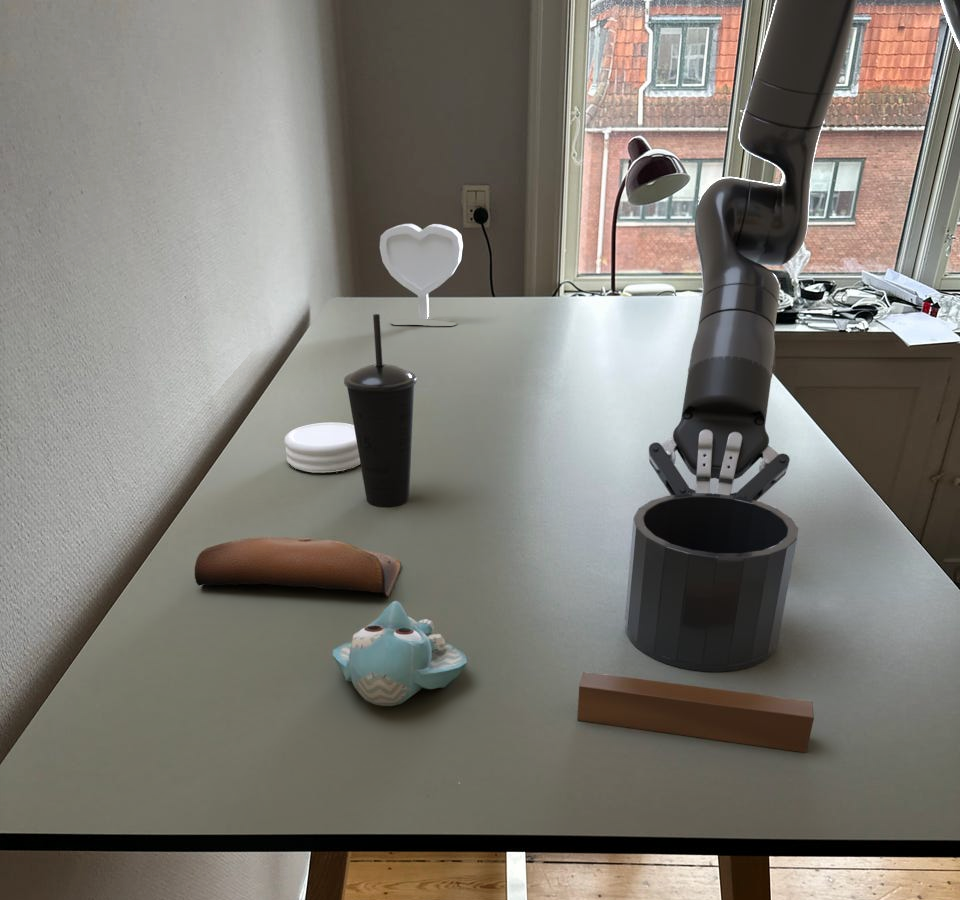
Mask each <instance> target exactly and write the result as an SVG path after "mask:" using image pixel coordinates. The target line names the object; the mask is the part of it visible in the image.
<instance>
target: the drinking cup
mask: <svg viewBox="0 0 960 900" xmlns="http://www.w3.org/2000/svg"><path fill="white" fill-rule="evenodd" d="M372 320H373V336H374V350H375V351H374V352H375V364H370V365H366V366H363V367H361V368H358V369H357V370H354V371H353V372H350V373H348V374H347V375H345V376H344V378H343V384H344V387H346V388H347V394H348V399H349V405H350V411H351V416H352V422H353V425H354V429H355V435H356V441H357V446H358V452H359V458H360V464H361V465H360V469H361V475H362V480H363V486H364V492H365V498H366V501H367V503H369V504H370V505H372V506H375V507H386V508H389V507H396V506H401V505H403V504H405V503H407V502H408V501H409V499H410V490H411V488H410V487H411V466H412V465H411V464H412V441H413V422H414V421H413V420H414V419H413V417H414V397H415V396H414V394H415V385H416V384H417V375H416V373H414V372H411V371H409V370H406V369H404V368H402V367H399V366H397V365H392V364H387V363H383V348H382V329H381V314H379V313H374V314H373V315H372Z"/></svg>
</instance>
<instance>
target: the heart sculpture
mask: <svg viewBox="0 0 960 900" xmlns="http://www.w3.org/2000/svg"><path fill="white" fill-rule="evenodd" d="M379 238H380V239H379V251H380V256H381V262H382V264H383V265H384V267H385V268H386V270H387V271H388V274H389V275H390V276H391V277H392V278H393V279H394V280H395V281H397V283H399V284H400V285H402V287H404V288H406V289H407V290H409V291H410V292H412V293H413V294H415V295H416V296H417V302H418V303H417V304H418V319H419V318H424V319H428V317H429V318H430V306H429V305H430V304H429V294H430V293H431V292H432V291H434V290H436V289H438V288H439V287H440V286H441V285H443V284H445V282H446V281H447V280H448V279H449V278H451V277H452V276H453V275H454V273H455V272H456V270H457V268H458V266H459V265H460V263H461V261H462V255H463V248H464V243H463V237H462V234H461V233H460V232H459V231H458V230H457V229H456V228H453V227H451V226H449V225H444V224H440V223H432V224H430V225H427V226H425V227H424V228H423V229H422V228H421V227H420V226H418V225H416V224H414V223H402V224H399V225H396V226H393V227H391V228H388V229H387V230H384V232H383V233H382V234H381V235H380V237H379Z"/></svg>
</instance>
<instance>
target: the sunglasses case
mask: <svg viewBox="0 0 960 900" xmlns="http://www.w3.org/2000/svg"><path fill="white" fill-rule="evenodd" d="M401 570H402V562H401V561H400V560H399V559H396V558H393V557H392V556H389V555H387V554H383V553H381V552H376V551H371V550H366V549H361V548H359V547H357V546H354V545H351V544H349V543H347V542H342V541H338V540H332V539H311V538H310V537H299V538H298V537H297V538H295V537H267V536H265V537H262V536H261V537H251V538H243V539H238V540H237V539H236V540H233V541H231V540H230V541H225V542H223V543H217V544H215V545H213V546H209V547H206V548H204V549H203V550H201V552H199V554H198V556H197V557H196V559H195V564H194V579H195V583H196V585H198V586H200V585H202V586H203V585H206V586H208V585H209V586H210V585H211V586H212V585H215V586H217V585H218V586H219V585H220V586H221V585H235V586H237V585H242V584H245V585H260V584H267V585H272V586H286V587H312V588H318V589H330V590H346V591H347V590H348V591H359V592H361V591H362V592H371V593H382V594H383V596H386V597H390V595H391V594H392V592H393V590H394V587H395V584H396V582H397V580H398V577H399V575H400V571H401Z"/></svg>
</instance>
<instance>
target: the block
mask: <svg viewBox="0 0 960 900" xmlns="http://www.w3.org/2000/svg"><path fill="white" fill-rule="evenodd" d="M577 701H578V702H577V717H576V720H577V721H580V722H587V723H593V724H603V725H609V726H616V727H621V728H623V727H624V728H629V729H637V730H645V731H650V732H658V733H666V734H671V735H672V734H673V735H679V736H687V737H693V738H701V739H706V740H715V741H721V742H727V743H735V744H742V745H749V746H756V747H764V748H771V749H778V750H785V751H791V752H798V753H806V754H807V753H808V748H809V743H810V738H811V733H812V728H813V724H814V720H815V713H814V703H813V701H811V700H805V699H797V698H788V697H780V696H773V695H765V694H757V693H749V692H743V691H735V690H726V689H719V688H712V687H705V686H704V687H703V686H696V685H689V684H682V683H674V682H673V683H672V682H666V681H665V682H664V681H658V680H650V679H643V678H635V677H627V676H619V675H612V674H604V673H596V672H590V671H583V672H582V675H581V679H580V681H579V686H578V699H577Z"/></svg>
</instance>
